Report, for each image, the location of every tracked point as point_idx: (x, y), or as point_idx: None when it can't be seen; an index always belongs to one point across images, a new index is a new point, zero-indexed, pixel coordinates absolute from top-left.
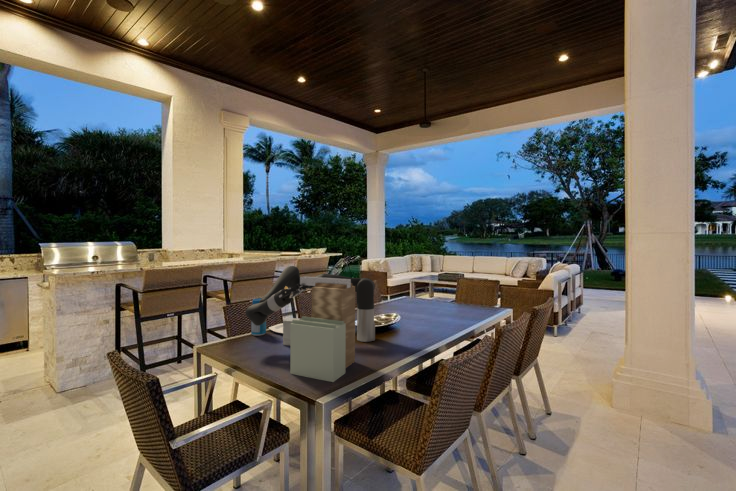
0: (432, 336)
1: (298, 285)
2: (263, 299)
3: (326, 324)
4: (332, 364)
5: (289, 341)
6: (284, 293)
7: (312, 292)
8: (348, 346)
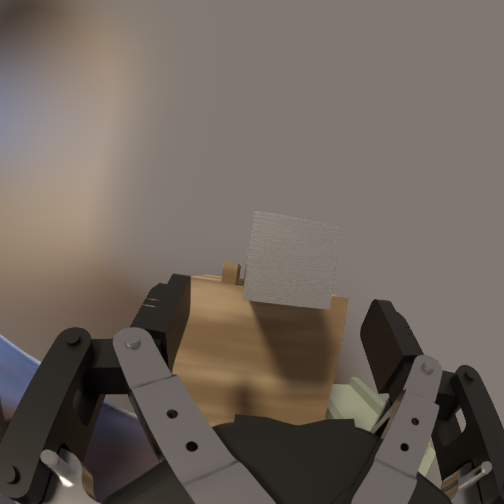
0: (11, 363)
1: (372, 310)
2: None
3: (366, 386)
4: None
5: None
6: (469, 434)
7: (341, 327)
8: None
